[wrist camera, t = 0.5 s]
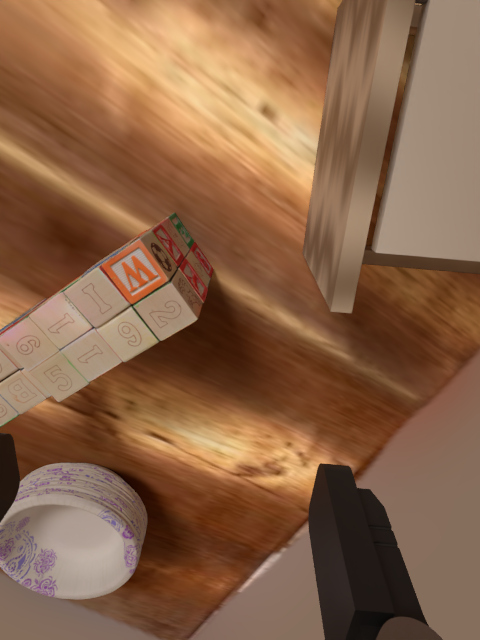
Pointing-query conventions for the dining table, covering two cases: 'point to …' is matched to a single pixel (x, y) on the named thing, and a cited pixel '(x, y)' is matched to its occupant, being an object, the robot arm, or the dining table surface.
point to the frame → (358, 148)
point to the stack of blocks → (103, 318)
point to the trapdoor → (437, 142)
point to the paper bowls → (73, 531)
